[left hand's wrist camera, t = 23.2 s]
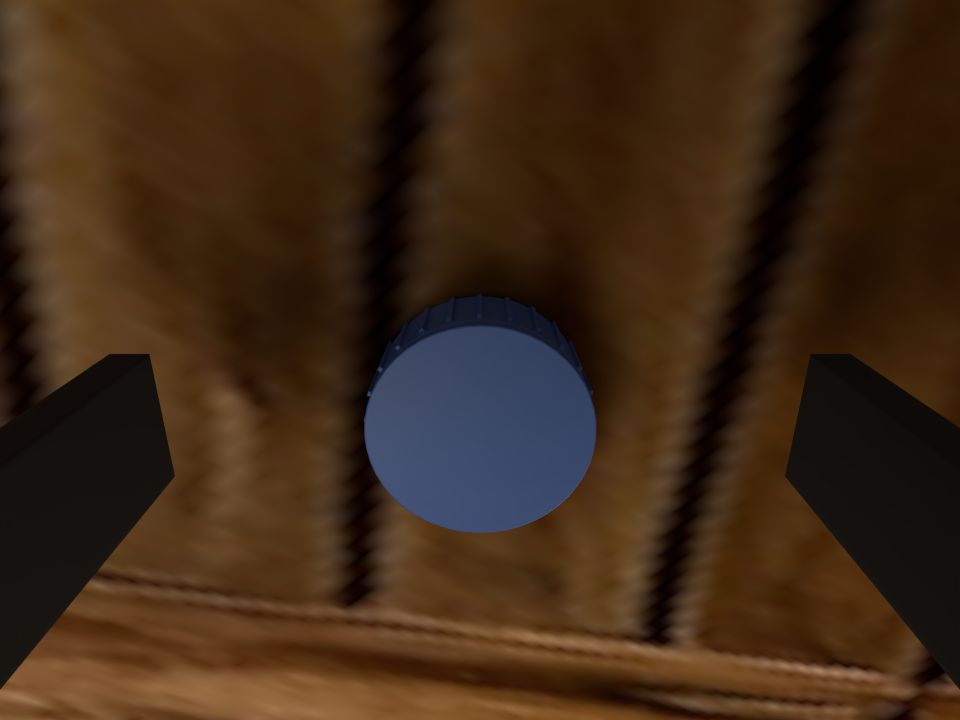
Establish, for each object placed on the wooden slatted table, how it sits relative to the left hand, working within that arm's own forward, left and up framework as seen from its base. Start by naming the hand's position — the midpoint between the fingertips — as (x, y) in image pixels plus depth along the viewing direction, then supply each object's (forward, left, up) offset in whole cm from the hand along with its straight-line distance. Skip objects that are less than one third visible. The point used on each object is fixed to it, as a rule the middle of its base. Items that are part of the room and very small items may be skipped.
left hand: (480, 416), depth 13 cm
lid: (+1, 0, -1) cm, 1 cm away
